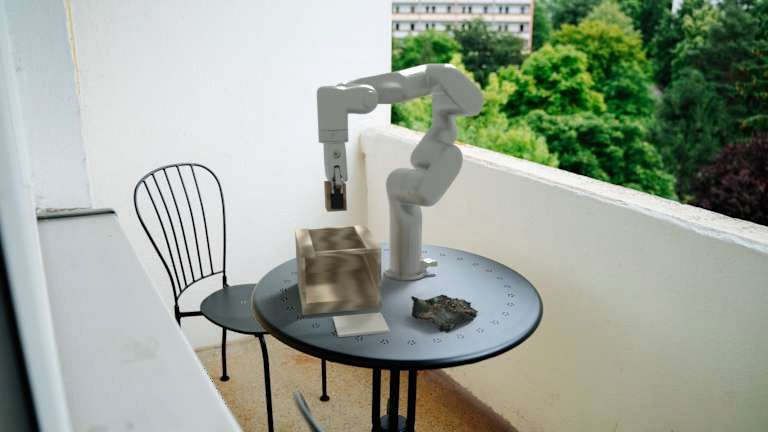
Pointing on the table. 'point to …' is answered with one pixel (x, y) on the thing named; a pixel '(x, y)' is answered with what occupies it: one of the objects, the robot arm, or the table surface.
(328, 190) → the walnut block
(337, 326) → the tile pad
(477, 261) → the table surface
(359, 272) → the slot box
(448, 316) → the decorative rock
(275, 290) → the table surface
